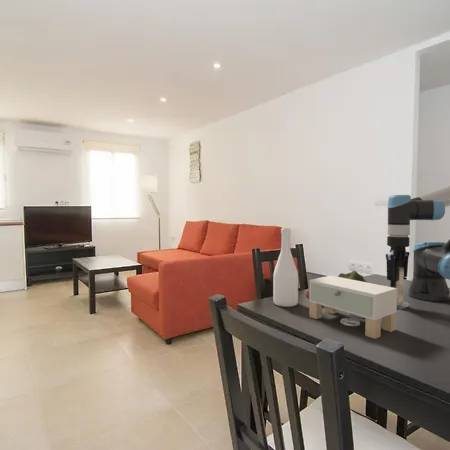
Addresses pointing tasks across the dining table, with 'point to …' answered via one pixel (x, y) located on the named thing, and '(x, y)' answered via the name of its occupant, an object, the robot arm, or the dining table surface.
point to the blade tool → (400, 292)
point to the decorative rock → (352, 276)
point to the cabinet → (355, 301)
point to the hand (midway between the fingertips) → (396, 296)
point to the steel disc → (350, 322)
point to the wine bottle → (285, 275)
